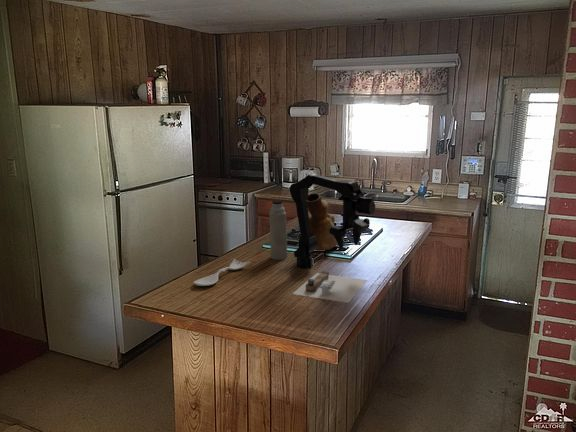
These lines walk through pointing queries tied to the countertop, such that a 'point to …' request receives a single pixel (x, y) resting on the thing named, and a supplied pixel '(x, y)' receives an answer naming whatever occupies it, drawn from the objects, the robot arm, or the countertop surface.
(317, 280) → the link
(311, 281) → the pintle pin
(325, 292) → the block
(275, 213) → the thermos bottle
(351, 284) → the base board
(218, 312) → the countertop surface
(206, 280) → the spoon
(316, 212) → the ceramic vessel
